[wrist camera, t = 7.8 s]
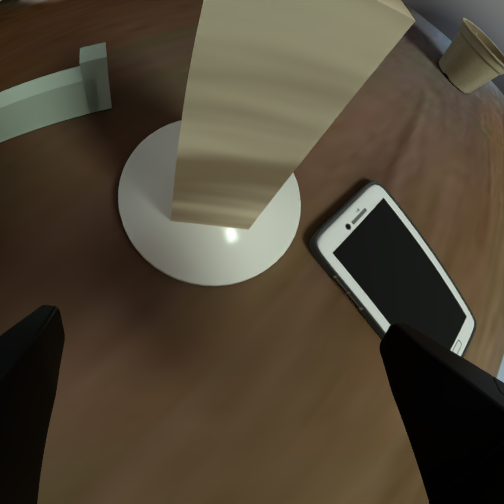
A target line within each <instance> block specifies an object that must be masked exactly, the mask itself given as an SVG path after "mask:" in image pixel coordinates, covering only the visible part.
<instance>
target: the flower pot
mask: <svg viewBox="0 0 504 504" xmlns="http://www.w3.org/2000/svg"><path fill="white" fill-rule="evenodd" d="M462 21H463V23H462V24H461V26H460V27H459V29H460V30H459V32H458V34H457V35H456V37H455V38H454V40H453V41H452V43H451V44H450V46H449V47H448V49H447V50H446V52H445V53H444V54H443V56H442V57H441V59H440V60H439V66H440V68H441V70H442V72H443V73H445V74H446V75H447V76H448V78H449V80H450V82H451V83H452V84H453V85H454V86H456V87H457V88H458V89H459V90H460V91H462V92H464V93H471V92H472V91H474V90H475V89H477V88H478V87H480V86H482V85H483V84H485V83H486V82H488V81H490V80H491V79H493V78H495V77H496V76H498V75H499V74H504V55H503V54H502V52H501V51H500V50H499V49H498V47H497V46H496V45H495V44H494V43H493V42H492V41H491V40H490V39H489V38H488V37H487V36H486V35H485V34H484V33H483V32H482V31H481V30H480V29H479V28H478V27H477V26H475V25H474V24H473V23H472V22H470V21H469V20H467V19H466V18H463V19H462Z"/></svg>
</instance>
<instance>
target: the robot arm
mask: <svg viewBox="0 0 504 504" xmlns="http://www.w3.org/2000/svg"><path fill="white" fill-rule="evenodd" d="M64 340H65V334H64V328H63V324H62V319H61V314H60V310H59V308H58V307H56V306H50V305H42V306H41V307H39V308H38V309H36V310H35V311H33V312H32V313H31V314H29V315H28V316H27V317H25V318H24V319H22V320H21V321H20V322H18V323H17V324H16V325H14V326H13V327H11V328H10V329H9V330H7V331H6V332H5V333H3V334H2V335H1V336H0V504H37V500H38V490H39V481H40V474H41V467H42V460H43V454H44V448H45V443H46V437H47V432H48V427H49V422H50V418H51V413H52V409H53V404H54V400H55V395H56V390H57V383H58V376H59V369H60V363H61V357H62V351H63V346H64ZM380 353H381V356H382V359H383V363H384V366H385V370H386V373H387V377H388V380H389V384H390V387H391V390H392V393H393V396H394V399H395V402H396V404H397V407H398V410H399V412H400V415H401V418H402V420H403V423H404V426H405V429H406V432H407V434H408V437H409V440H410V443H411V446H412V449H413V452H414V455H415V458H416V461H417V464H418V467H419V470H420V473H421V477H422V480H423V483H424V486H425V490H426V493H427V496H428V500H429V504H504V383H503V382H502V381H500V380H498V379H497V378H495V377H493V376H491V375H490V374H488V373H487V372H485V371H484V370H482V369H480V368H479V367H477V366H476V365H474V364H472V363H471V362H469V361H467V360H466V359H464V358H462V357H461V356H459V355H458V354H456V353H454V352H453V351H451V350H449V349H448V348H446V347H444V346H443V345H441V344H439V343H438V342H436V341H434V340H433V339H431V338H429V337H428V336H426V335H424V334H423V333H421V332H419V331H418V330H416V329H414V328H413V327H411V326H409V325H408V324H406V323H404V322H396V323H392V324H391V325H390V326H389V328H388V330H387V332H386V334H385V335H384V337H383V339H382V341H381V343H380Z"/></svg>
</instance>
